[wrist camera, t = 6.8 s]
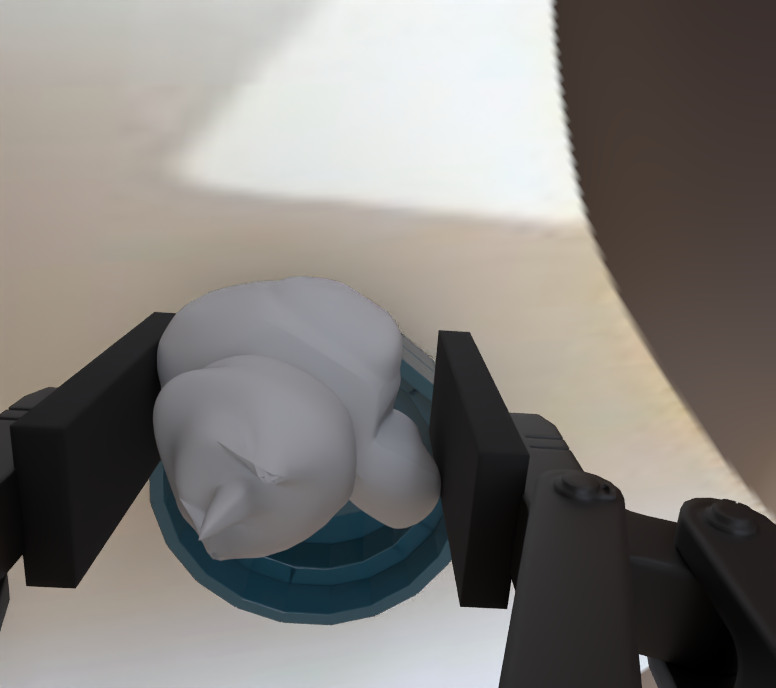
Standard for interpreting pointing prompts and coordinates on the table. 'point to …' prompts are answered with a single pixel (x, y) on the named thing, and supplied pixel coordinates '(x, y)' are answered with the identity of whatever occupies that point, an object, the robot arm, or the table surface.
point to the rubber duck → (286, 416)
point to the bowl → (326, 544)
